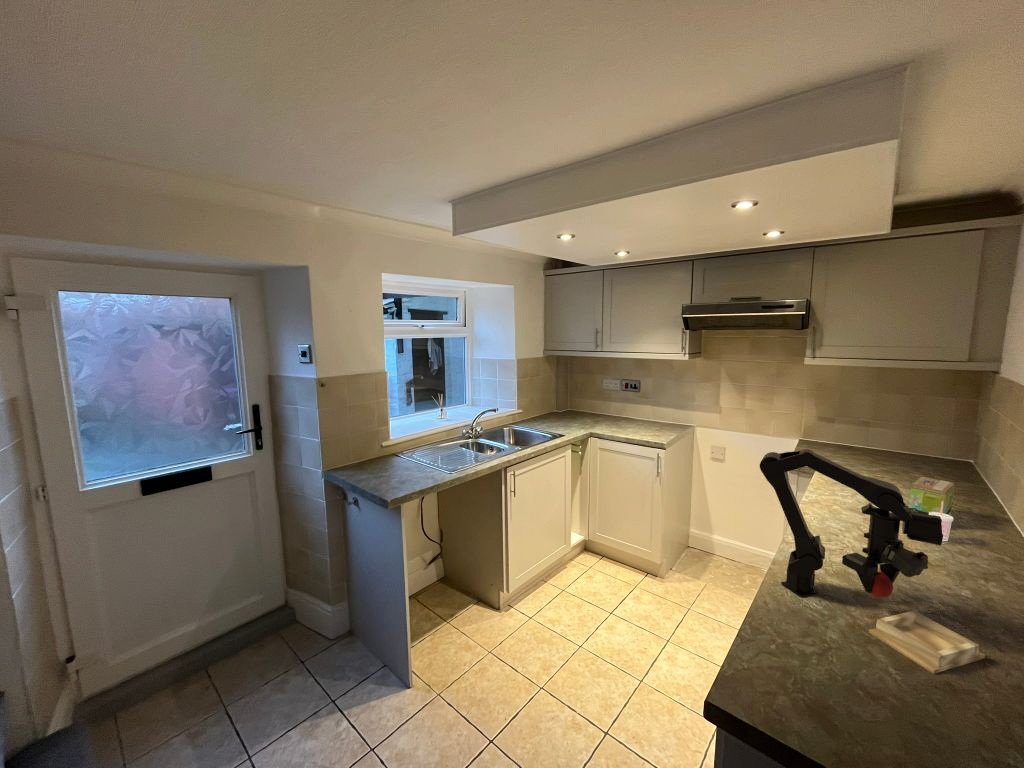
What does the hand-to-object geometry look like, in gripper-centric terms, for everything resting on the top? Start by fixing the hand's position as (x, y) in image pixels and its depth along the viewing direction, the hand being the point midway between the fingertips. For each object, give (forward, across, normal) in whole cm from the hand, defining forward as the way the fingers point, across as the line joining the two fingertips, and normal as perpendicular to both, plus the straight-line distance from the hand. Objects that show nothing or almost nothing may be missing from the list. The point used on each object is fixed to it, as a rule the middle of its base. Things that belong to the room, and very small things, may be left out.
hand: (877, 590), depth 111 cm
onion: (+2, 0, 0) cm, 2 cm away
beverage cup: (+6, +61, +22) cm, 65 cm away
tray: (+6, -2, -12) cm, 13 cm away
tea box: (+6, +77, +34) cm, 85 cm away
